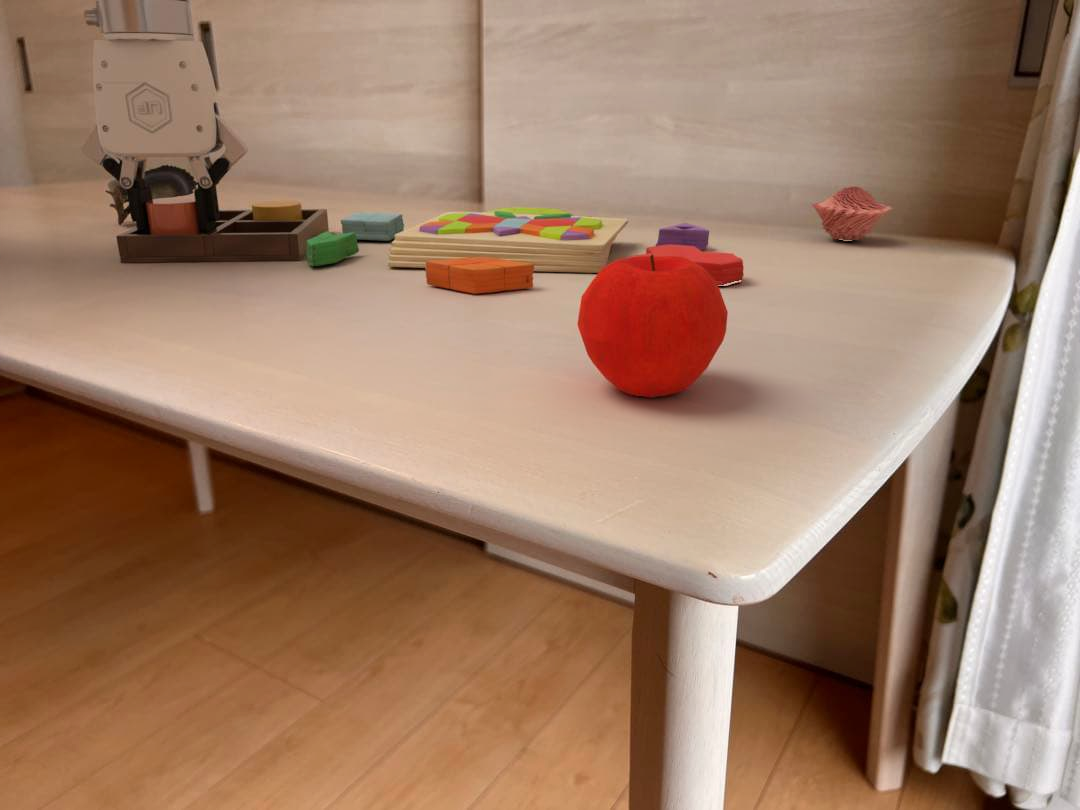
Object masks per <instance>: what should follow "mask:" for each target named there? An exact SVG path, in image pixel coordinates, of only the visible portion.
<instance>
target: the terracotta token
mask: <svg viewBox="0 0 1080 810" xmlns="http://www.w3.org/2000/svg"><path fill="white" fill-rule="evenodd" d="M145 204H146V211H147V217H148V223H149V229H150V234H198V233H202V232H204V231H201V230H200V229H199V225H198V217H197V210H196V203H195V196H194V197H193V196H178V197H170V198H158V199H152V200H148V201H146V202H145Z"/></svg>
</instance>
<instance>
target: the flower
mask: <svg viewBox="0 0 1080 810" xmlns="http://www.w3.org/2000/svg"><path fill="white" fill-rule="evenodd" d="M875 199H876V198H875V197H873V194H872V193H869V191H868V190H866V189H864V188H863V187H860V186H848V187H847V186H846V187H844V188H841V189H840V190H837V191H836V192H834V194H833V195H832V196H831V197H829V198H828V199H826V200H824V201H822V202H819V201H817V202H815V203H810V205H811V207H812V208H814V210H815V212H817V214H818V216H819V218H820V219H821V220H822V223H821V225H822V229H823V230H825V233H826V234H829V237H831V238H832V239H833V240H839V239H843V240H857V241H859V240H860V239H864V238H865V237H866V235H869V234H871V232H872V228H873V227H875V226H876V225H877V223H878V222H879V220H880V219H881V218H882V217H883V216H884V215H885V214H886V213H888V212H890V211H891V210H893V209H894V208H893V207H892V206H891V205H885V204H880V203H879V202H877V201H876V200H875Z"/></svg>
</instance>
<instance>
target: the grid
mask: <svg viewBox="0 0 1080 810" xmlns="http://www.w3.org/2000/svg"><path fill="white" fill-rule="evenodd" d="M219 214H220V218H219V221H216V227H215V228H213V229H211V230H209V231H204V232H202V233H198V234H150V230H147V231H145V232H138V230H137V226H136V227H134V228H132V229H129V230H127V231H125V232H122V233H119V234H117V235H116V237H115V238H116V243H117V249H118V255H119V259H120V260H119V261H120V263H121V264H125V263H127V264H131V263H132V264H133V263H134V264H135V263H136V264H138V263H139V264H140V263H199V262H200V263H202V262H203V263H204V262H206V263H209V262H211V263H212V262H214V263H215V262H281V261H282V262H285V261H290V262H292V261H293V262H294V261H301V260H302V259H303V258H304V257H305V256H307V244H306V241H307V240H309V239H311V238H314V237H316V236H318V235H319V234H322V233H324V232H327V231H329V232H330V227H329V218H328V216H329V215H328V209H327V208H302V217H303V220H253V212H252V209H219Z"/></svg>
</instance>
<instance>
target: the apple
mask: <svg viewBox="0 0 1080 810" xmlns="http://www.w3.org/2000/svg"><path fill="white" fill-rule="evenodd" d="M630 257H631V256H630ZM630 257H624V258H618V259H616V260H614V261H612V262H610V263H608V264H607V266H605V267H603V268H602V269H601V270H600V272H599V273H596V275H595V277H594V278H593V279H592V281H591V282H589V285H588V286H587V288H586V289H585V291H584V292H583V294H582V295H581V298H580V303H579V311H578V318H577V328H578V332H579V334H580V337H581V339H582V342H583V346H584V349H585V351H586V354H587V357H588V358H589V359H590V361H591V363H592V364H593V366H595V368H596V369H597V370H598V371H599V372H600V374H601V375H602V376H603V377H604V378H605V379H606V380H607V381H608V382H609V383H610V384H611V385H613V386H614V387H615V388H616V389H617V390H618V391H621V392H623V393H625V394H627V395H630V396H633V395H636V396H635V397H638V396H645V397H644V398H653V397H652V396H662V397H666V396H665V395H668V396H671V395H674V394H677V393H680V392H683V391H686V390H687V389H689V387H690V386H691V385H693V384H694V383H695V381H697V379H698V378H699V377H700V376H701V375H702V374H703V373H704V372H705V371H706V370H707V369H708V368H709V365H710V364H711V363H712V361H713V359H714V357H715V355H716V354H717V352H718V350H719V348H720V347H721V345H722V343H723V342H724V339H725V336H726V333H727V325H728V314H729V312H728V309H727V307H726V303H725V301H724V298H723V295H722V292H721V289H720V287H718V284H717V283H716V281H715V280H714V279H713V278H712V276H711V275H710V274H709V273H708V271H707V270H706V269H704V268H703V267H702V266H700V265H698V264H697V263H695V262H693V261H691V260H688V259H686V258H684V257H680V256H663V257H653V254H652V255H651V256H650V257H649V256H640V257H631V258H630ZM670 394H671V395H670Z"/></svg>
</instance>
